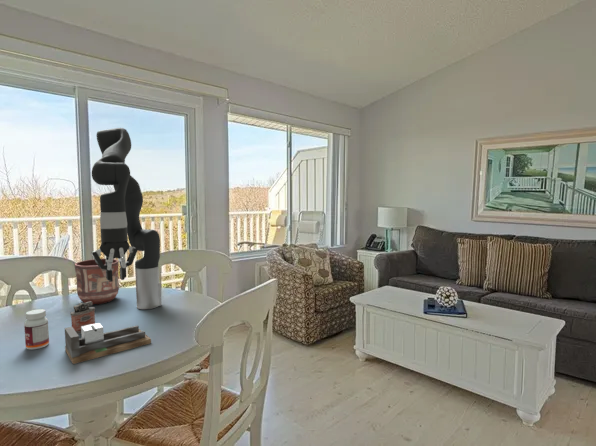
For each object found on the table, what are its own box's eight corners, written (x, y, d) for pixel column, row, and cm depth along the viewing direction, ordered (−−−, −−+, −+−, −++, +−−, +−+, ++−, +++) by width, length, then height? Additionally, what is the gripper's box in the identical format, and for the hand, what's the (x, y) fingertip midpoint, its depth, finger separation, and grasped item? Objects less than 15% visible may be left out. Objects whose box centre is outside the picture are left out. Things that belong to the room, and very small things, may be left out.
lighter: (74, 335, 126) (73, 307, 125) (69, 333, 128) (67, 305, 127) (97, 328, 133) (96, 301, 132) (92, 326, 135) (91, 299, 134)
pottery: (66, 306, 158) (64, 265, 157) (94, 294, 176) (92, 257, 174) (103, 308, 156) (102, 266, 154) (128, 296, 173) (127, 259, 172)
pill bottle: (23, 346, 117) (21, 312, 116) (45, 340, 122) (43, 307, 121) (29, 352, 113) (26, 316, 112) (52, 345, 118) (49, 311, 117)
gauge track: (138, 332, 128) (137, 311, 128) (151, 343, 119) (150, 320, 119) (65, 350, 114) (63, 327, 113) (73, 364, 105) (71, 338, 104)
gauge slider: (100, 341, 117) (98, 321, 116) (106, 348, 111) (105, 327, 111) (82, 345, 114) (81, 324, 113) (87, 353, 108) (86, 331, 108)
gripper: (133, 224, 123) (135, 275, 124) (86, 227, 113) (88, 281, 115) (140, 225, 117) (143, 279, 118) (91, 228, 108) (94, 286, 109)
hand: (116, 280), depth 117 cm, fingers open, 3 cm apart
